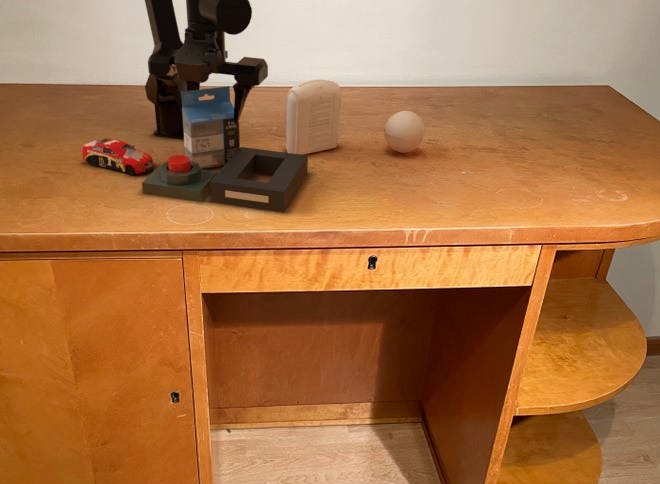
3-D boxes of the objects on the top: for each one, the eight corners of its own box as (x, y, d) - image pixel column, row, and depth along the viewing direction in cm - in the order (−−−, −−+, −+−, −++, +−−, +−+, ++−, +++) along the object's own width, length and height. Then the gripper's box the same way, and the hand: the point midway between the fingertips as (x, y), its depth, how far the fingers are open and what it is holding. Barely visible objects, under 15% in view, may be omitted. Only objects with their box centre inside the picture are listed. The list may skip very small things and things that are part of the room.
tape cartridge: (193, 171, 121) (187, 98, 113) (185, 163, 124) (179, 91, 116) (240, 163, 124) (238, 92, 117) (232, 155, 127) (229, 85, 119)
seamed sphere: (413, 142, 135) (418, 104, 130) (427, 157, 129) (433, 117, 125) (363, 145, 133) (367, 106, 128) (375, 161, 127) (379, 120, 123)
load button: (165, 172, 113) (164, 162, 112) (173, 164, 116) (172, 153, 114) (186, 175, 112) (185, 165, 111) (194, 167, 115) (193, 156, 114)
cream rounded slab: (327, 140, 134) (331, 73, 127) (341, 148, 131) (345, 79, 124) (282, 150, 130) (282, 81, 122) (294, 158, 127) (296, 88, 119)
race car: (160, 168, 122) (158, 146, 119) (140, 179, 118) (138, 156, 115) (99, 152, 126) (96, 130, 124) (79, 162, 122) (75, 140, 120)
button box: (142, 193, 114) (140, 173, 111) (162, 174, 120) (160, 154, 118) (201, 202, 112) (200, 181, 110) (218, 182, 118) (217, 162, 116)
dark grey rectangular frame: (210, 202, 112) (209, 182, 110) (241, 166, 124) (240, 146, 121) (283, 213, 110) (283, 192, 107) (307, 174, 121) (308, 155, 119)
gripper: (127, 25, 105) (139, 129, 115) (247, 38, 102) (248, 143, 111) (157, 9, 114) (166, 107, 123) (268, 20, 110) (268, 119, 120)
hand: (210, 119), depth 119 cm, fingers open, 9 cm apart
